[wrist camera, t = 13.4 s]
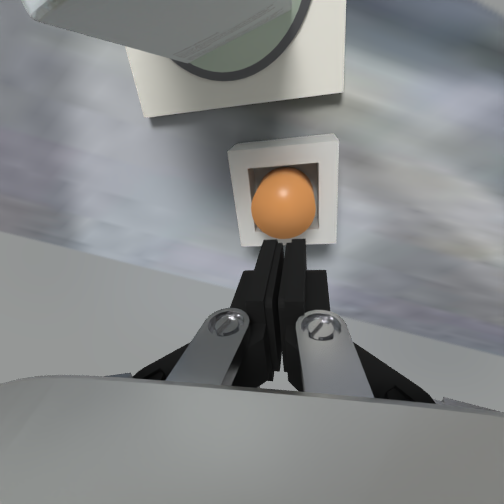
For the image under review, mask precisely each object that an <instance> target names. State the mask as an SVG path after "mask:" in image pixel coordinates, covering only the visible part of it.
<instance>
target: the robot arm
mask: <svg viewBox="0 0 504 504" xmlns="http://www.w3.org/2000/svg"><path fill="white" fill-rule="evenodd" d="M282 354H283V365H284V372H288V381H289V382H290V383H291V384H292V385H293V386H294V387H295V388H296V389H297V390H298V391H286V390H275V389H262V388H260V385H261V384H263V383H264V382H266V381H273V377H274V371H280V364H281V355H282ZM0 504H504V412H499V411H496V410H491V409H488V408H484V407H480V406H476V405H472V404H469V403H465V402H461V401H457V400H453V399H449V398H445V397H443V400H442V401H439V400H435V399H432V398H431V397H430V395H429V394H428V393H426V392H425V391H424V390H423V389H422V388H420V387H419V386H417V385H416V384H414V383H413V382H412V381H410V380H409V379H407V378H406V377H404V376H403V375H401V374H400V373H398V372H397V371H395V370H394V369H392V368H391V367H389V366H388V365H386V364H385V363H383V362H382V361H380V360H379V359H378V358H376V357H375V356H373V355H372V354H370V353H369V352H367V351H366V350H364V349H363V348H361V347H360V346H358V345H357V344H355V343H354V342H353V341H352V338H351V336H350V333H349V331H348V328H347V325H346V323H345V322H344V320H343V319H342V318H341V317H340V316H339V315H337V314H335V313H333V312H330V304H329V293H328V283H327V273H326V270H307V266H306V239H292V242H291V243H286V250H285V256H284V252H283V243H278V240H277V239H272V240H263V243H262V247H261V250H260V253H259V256H258V260H257V263H256V266H255V269H254V270H251V271H244V272H243V274H242V276H241V279H240V282H239V285H238V287H237V290H236V293H235V296H234V298H233V301H232V304H231V306H230V308H225V309H221V310H218V311H216V312H214V313H212V314H211V315H210V316H209V317H208V318H207V319H206V320H205V322H204V323H203V325H202V326H201V328H200V329H199V331H198V332H197V334H196V335H195V337H194V338H193V340H192V341H191V342H190V343H189V344H186V345H185V346H183V347H181V348H179V349H177V350H175V351H174V352H172V353H170V354H168V355H166V356H165V357H163V358H161V359H159V360H158V361H155V362H154V363H152V364H150V365H148V366H146V367H144V368H143V369H142V370H140V371H139V372H137V373H136V374H135V375H134V376H132V375H131V373H125V374H118V375H111V376H84V375H48V376H36V377H29V378H23V379H18V380H14V381H10V382H6V383H2V384H0Z"/></svg>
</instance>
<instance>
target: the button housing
mask: <svg viewBox="0 0 504 504" xmlns="http://www.w3.org/2000/svg"><path fill="white" fill-rule="evenodd" d="M227 155H228V161H229V168H230V174H231V181H232V188H233V194H234V201H235V208H236V214H237V221H238V227H239V234H240V241H241V247H248V246H262V243H263V240H272V239H277V240H278V243H283V245H286V243H291V242H292V239H306V245H307V244H336V234H337V196H338V158H339V140H338V139H337V137H336V136H335V135H334V134H333V133H331V134H322V135H312V136H303V137H293V138H283V139H274V140H264V141H255V142H245V143H237V144H236V145H235V146H233V147H232V148H231V149H230V150H228V151H227ZM279 167H292V168H296V169H298V170H300V171H302V172H303V173H304V174H305V175H306V176H307V177H308V178H309V179H310V181H311V183H312V186H313V190H314V198H315V207H316V210H315V217H314V219H313V222H312V224H311V225H310V226H309V228H308V229H307V230H306V231H305V232H303V233H302V234H300V235H298V236H296V237H293V238H289V239H278V238H273V237H271V236H268V235H267V234H265V233H264V232H262V231H261V230H260V229H259V228H258V227H257V225H256V224H255V222H254V220H253V217H252V213H251V204H252V200H253V197H254V195H255V193H256V190H257V188H258V186H259V184H260V182H261V180H262V179H263V177H264V176H265V175H266V174H267V173H269V172H270V171H272V170H274V169H276V168H279Z"/></svg>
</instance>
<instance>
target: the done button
mask: <svg viewBox="0 0 504 504" xmlns="http://www.w3.org/2000/svg"><path fill="white" fill-rule="evenodd" d="M315 210H316V207H315V198H314V190H313V186H312V183H311V181H310V179H309V178H308V177H307V176H306V175H305V174H304V173H303V172H302V171H300V170H298V169H296V168H292V167H279V168H276V169H274V170H272V171H270V172H269V173H267V174H266V175H265V176H264V177H263V179H262V180H261V182H260V184H259V186H258V188H257V190H256V193H255V195H254V197H253V200H252V204H251V213H252V217H253V220H254V222H255V224H256V225H257V227H258V228H259V229H260V230H261V231H262V232H264V233H265V234H267V235H268V236H271V237H273V238H278V239H289V238H293V237H296V236H298V235H300V234H302V233H303V232H305V231H306V230H307V229H308V228H309V226H310V225H311V224H312V222H313V219H314V217H315Z"/></svg>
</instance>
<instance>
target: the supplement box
mask: <svg viewBox="0 0 504 504" xmlns="http://www.w3.org/2000/svg"><path fill="white" fill-rule="evenodd" d="M21 1H22V3H23V5H24V7H25V9H26V10H27V12H28V14H29V15H30V17H31V18H33V19H34V20H35V21H38V22H41V23H44V24H48V25H51V26H55V27H59V28H63V29H66V30H70V31H74V32H77V33H81V34H84V35H87V36H91V37H95V38H99V39H102V40H106V41H109V42H113V43H116V44H120V45H124V46H127V47H130V48H134V49H138V50H141V51H145V52H148V53H152V54H155V55H159V56H163V57H166V58H170V59H173V60H177V61H180V62H184V63H190V62H192V61H194V60H195V59H197V58H199V57H201V56H203V55H205V54H207V53H209V52H211V51H213V50H215V49H217V48H218V47H221V46H223V45H225V44H227V43H228V42H230V41H232V40H234V39H236V38H238V37H240V36H242V35H244V34H246V33H248V32H250V31H252V30H254V29H256V28H257V27H259V26H261V25H263V24H265V23H267V22H269V21H271V20H273V19H275V18H277V17H279V16H281V15H283V14H284V13H286V12H288V11H290V10H291V9H292V0H21Z"/></svg>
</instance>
